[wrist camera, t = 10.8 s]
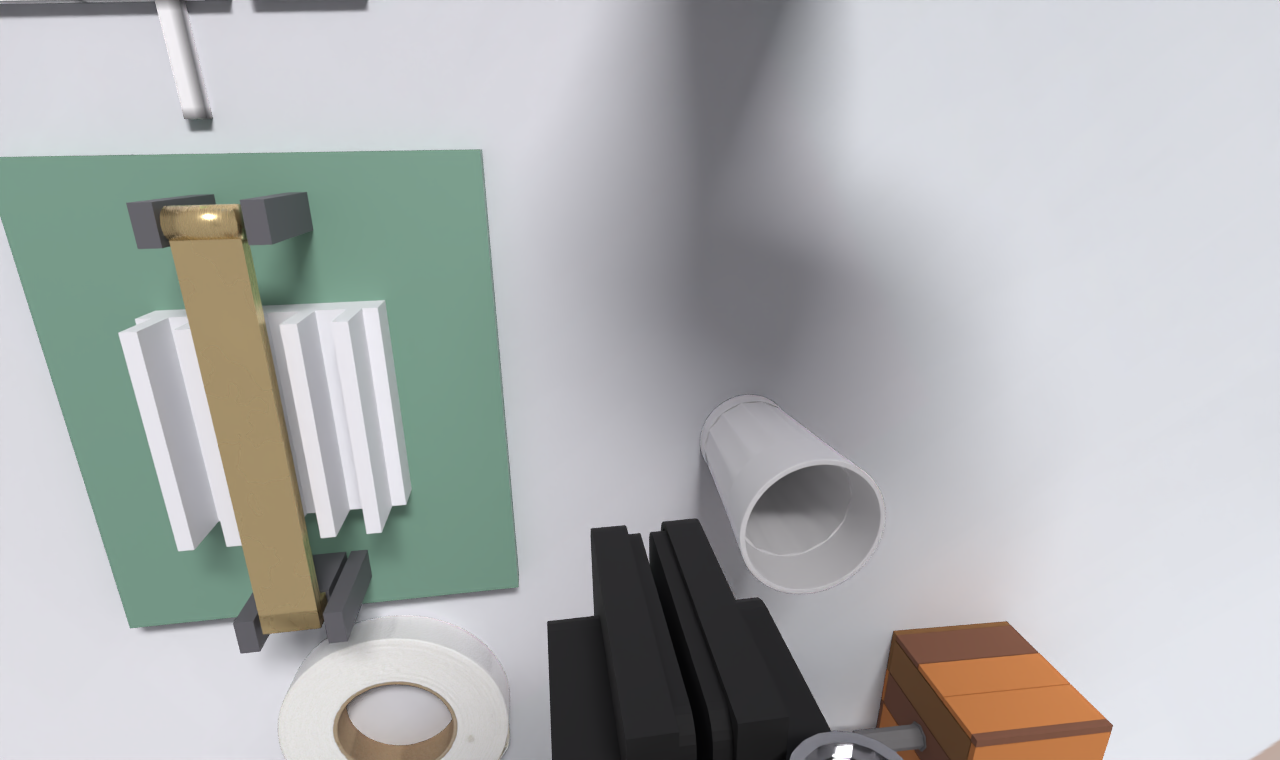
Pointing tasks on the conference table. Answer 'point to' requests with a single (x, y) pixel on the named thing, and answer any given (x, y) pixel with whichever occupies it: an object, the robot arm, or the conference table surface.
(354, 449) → the motherboard
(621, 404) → the conference table surface
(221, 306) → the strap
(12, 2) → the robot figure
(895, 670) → the clamp
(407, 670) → the roll of tape
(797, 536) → the cup
